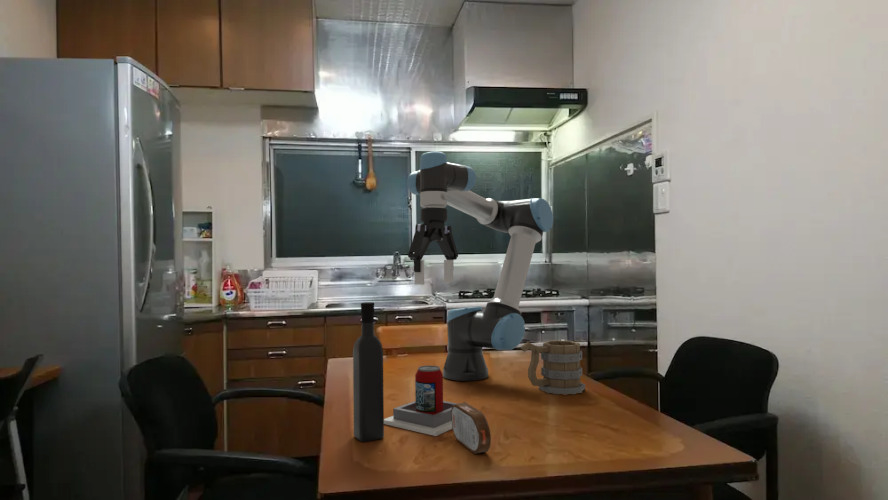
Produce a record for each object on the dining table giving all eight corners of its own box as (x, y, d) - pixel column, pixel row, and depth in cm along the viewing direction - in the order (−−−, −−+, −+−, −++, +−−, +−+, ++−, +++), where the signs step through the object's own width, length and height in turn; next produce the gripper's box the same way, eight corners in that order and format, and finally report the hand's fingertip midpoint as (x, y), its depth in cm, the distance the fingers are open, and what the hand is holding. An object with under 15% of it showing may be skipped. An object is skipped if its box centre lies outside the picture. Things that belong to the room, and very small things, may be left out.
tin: (492, 457, 107) (492, 415, 107) (478, 460, 105) (477, 417, 106) (461, 435, 121) (461, 397, 121) (448, 436, 119) (448, 399, 119)
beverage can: (409, 417, 131) (409, 368, 131) (429, 411, 136) (428, 363, 136) (429, 422, 126) (429, 371, 126) (448, 416, 131) (448, 367, 131)
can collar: (423, 408, 142) (423, 394, 142) (474, 418, 133) (474, 404, 133) (382, 423, 129) (382, 409, 129) (435, 436, 120) (435, 420, 120)
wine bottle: (352, 435, 120) (351, 302, 121) (375, 431, 123) (374, 301, 124) (361, 443, 116) (359, 304, 116) (385, 438, 118) (384, 303, 119)
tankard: (569, 383, 169) (568, 335, 169) (592, 392, 157) (591, 341, 157) (511, 388, 162) (510, 339, 162) (531, 399, 150) (530, 345, 150)
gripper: (416, 203, 138) (417, 285, 138) (469, 209, 158) (470, 281, 158) (394, 205, 142) (395, 285, 142) (448, 211, 163) (449, 281, 162)
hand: (434, 283), depth 150 cm, fingers open, 13 cm apart
